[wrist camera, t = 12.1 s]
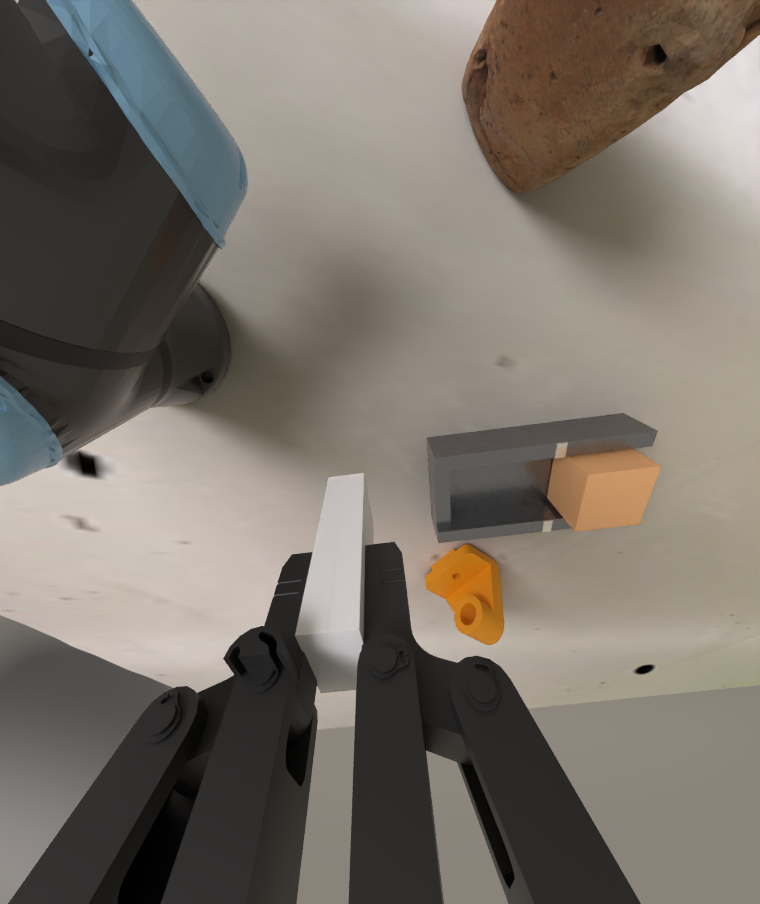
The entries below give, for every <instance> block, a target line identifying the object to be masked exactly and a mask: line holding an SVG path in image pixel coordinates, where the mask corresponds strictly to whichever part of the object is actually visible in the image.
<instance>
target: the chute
mask: <svg viewBox="0 0 760 904" xmlns="http://www.w3.org/2000/svg"><path fill="white" fill-rule="evenodd" d="M656 434H657V430H655V429H653V428H651V427H649V426H647V425H645V424H643V423H641V422H639V421H637V420H635V419H634V418H632V417H630V416H628V415H626V414H624V413H622V414H614V415H606V416H598V417H590V418H582V419H574V420H566V421H558V422H550V423H542V424H534V425H526V426H518V427H510V428H502V429H494V430H486V431H478V432H470V433H462V434H454V435H446V436H438V437H430V438H427V445H428V462H429V479H430V496H431V514H432V520H433V524H434V528H435V532H436V535H437V539H438V543H443V542H451V541H460V540H469V539H478V538H487V537H496V536H505V535H514V534H523V533H532V532H551V530H559V529H568V528H571V526H570V525H569V524H568V523H567V522H566V520H565V519H564V518H563V517H562V515H561V514H560V513H559V512H558V511H557V509H556V508H555V507H554V506H553V505H552V503H551V502H550V501H549V500H548V498H547V493H548V487H549V482H550V476H551V470H552V464H553V458H555V459H556V458H565V456H573V455H582V454H590V453H598V452H606V451H615V450H623V449H631V448H640V447H648V446H653V443H654V440H655V437H656Z"/></svg>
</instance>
